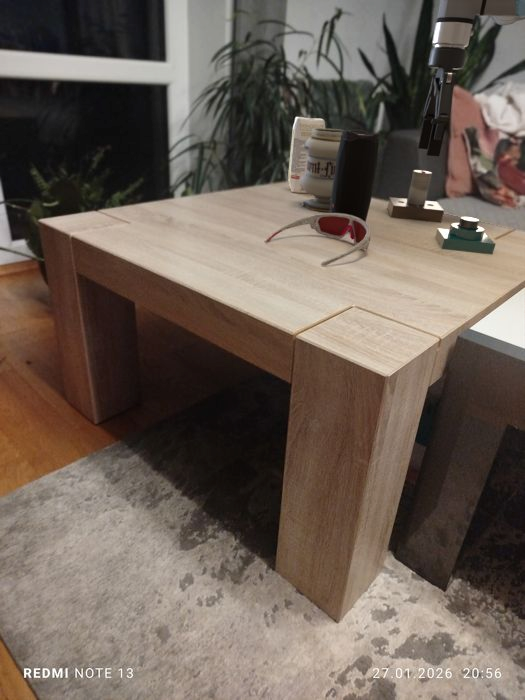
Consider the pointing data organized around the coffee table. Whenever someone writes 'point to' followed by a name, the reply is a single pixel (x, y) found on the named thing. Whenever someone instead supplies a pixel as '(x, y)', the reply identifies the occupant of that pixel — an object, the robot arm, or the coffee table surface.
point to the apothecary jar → (320, 167)
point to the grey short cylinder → (468, 223)
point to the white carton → (300, 150)
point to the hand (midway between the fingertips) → (427, 152)
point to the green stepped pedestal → (464, 239)
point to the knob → (419, 187)
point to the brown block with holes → (415, 210)
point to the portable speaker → (355, 173)
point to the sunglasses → (335, 230)
